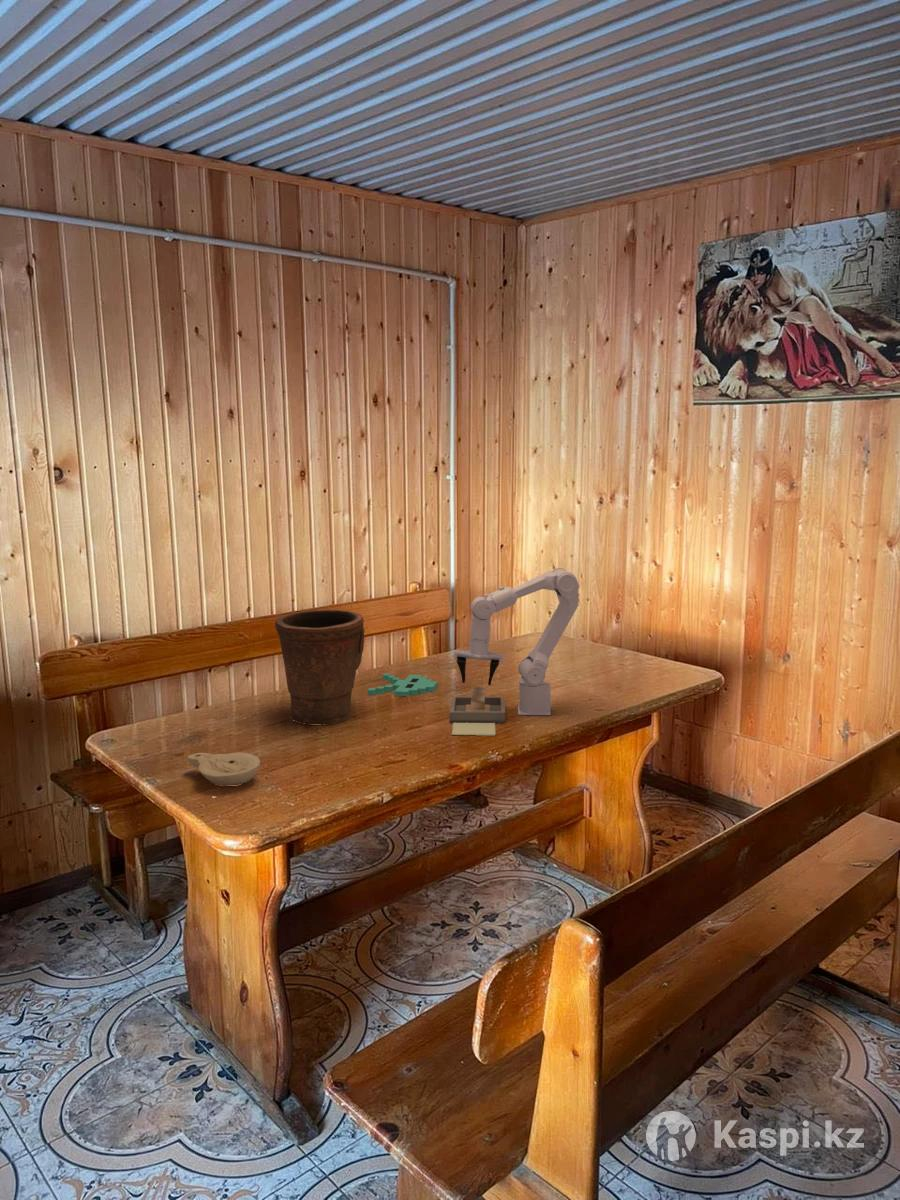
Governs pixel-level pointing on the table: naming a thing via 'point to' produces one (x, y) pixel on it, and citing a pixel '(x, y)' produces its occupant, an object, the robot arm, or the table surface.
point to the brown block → (477, 698)
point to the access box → (463, 712)
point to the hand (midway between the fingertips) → (476, 683)
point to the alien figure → (405, 685)
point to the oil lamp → (226, 767)
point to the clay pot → (321, 662)
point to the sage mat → (474, 729)
